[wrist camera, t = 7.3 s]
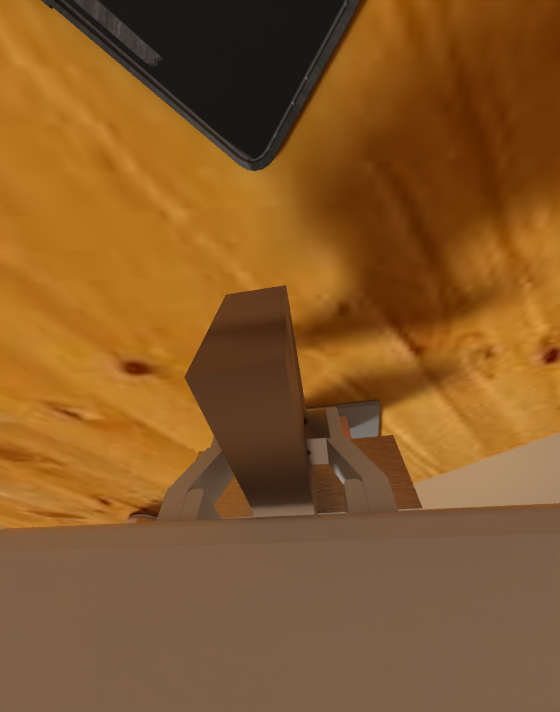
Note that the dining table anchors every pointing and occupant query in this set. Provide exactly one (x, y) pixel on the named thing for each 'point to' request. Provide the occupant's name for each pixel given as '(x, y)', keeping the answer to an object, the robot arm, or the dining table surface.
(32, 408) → the dining table surface
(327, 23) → the phone
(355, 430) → the charcoal mat
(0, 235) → the dining table surface
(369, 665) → the robot arm
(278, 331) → the walnut scraper
